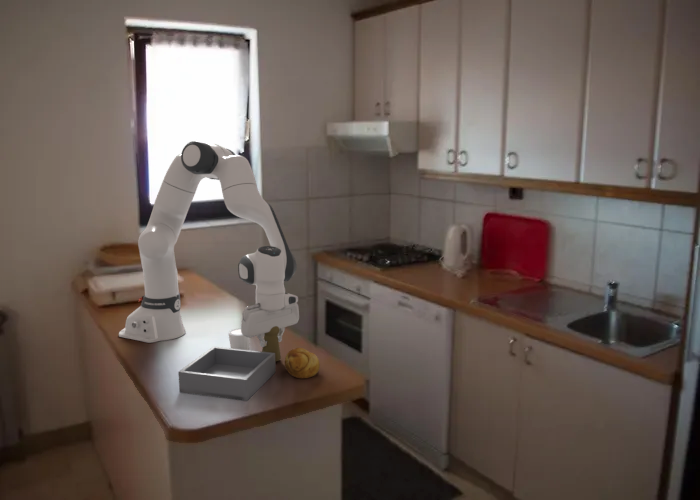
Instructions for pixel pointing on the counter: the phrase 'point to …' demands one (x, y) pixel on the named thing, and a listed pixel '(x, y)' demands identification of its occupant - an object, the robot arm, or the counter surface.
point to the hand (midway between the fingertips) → (271, 343)
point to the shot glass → (238, 340)
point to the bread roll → (301, 363)
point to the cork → (272, 343)
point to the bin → (227, 373)
